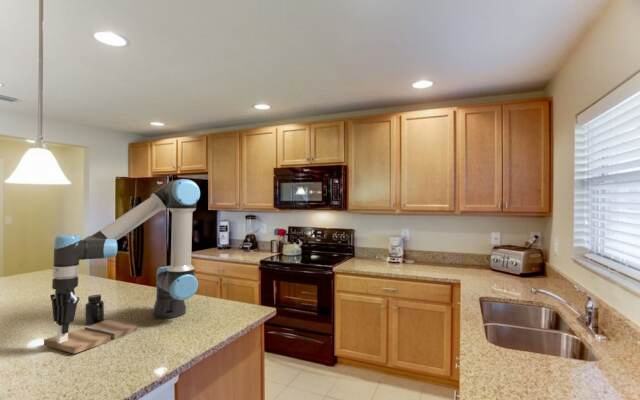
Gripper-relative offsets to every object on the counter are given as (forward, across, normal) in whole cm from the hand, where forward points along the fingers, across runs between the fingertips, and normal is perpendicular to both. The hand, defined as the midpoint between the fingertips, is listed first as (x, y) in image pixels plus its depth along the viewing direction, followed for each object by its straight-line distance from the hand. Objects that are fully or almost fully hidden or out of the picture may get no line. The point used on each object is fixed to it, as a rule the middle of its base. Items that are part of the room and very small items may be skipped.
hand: (62, 341), depth 119 cm
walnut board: (+2, 0, +18) cm, 18 cm away
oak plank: (+2, 0, +5) cm, 6 cm away
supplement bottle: (+3, -16, +22) cm, 27 cm away
